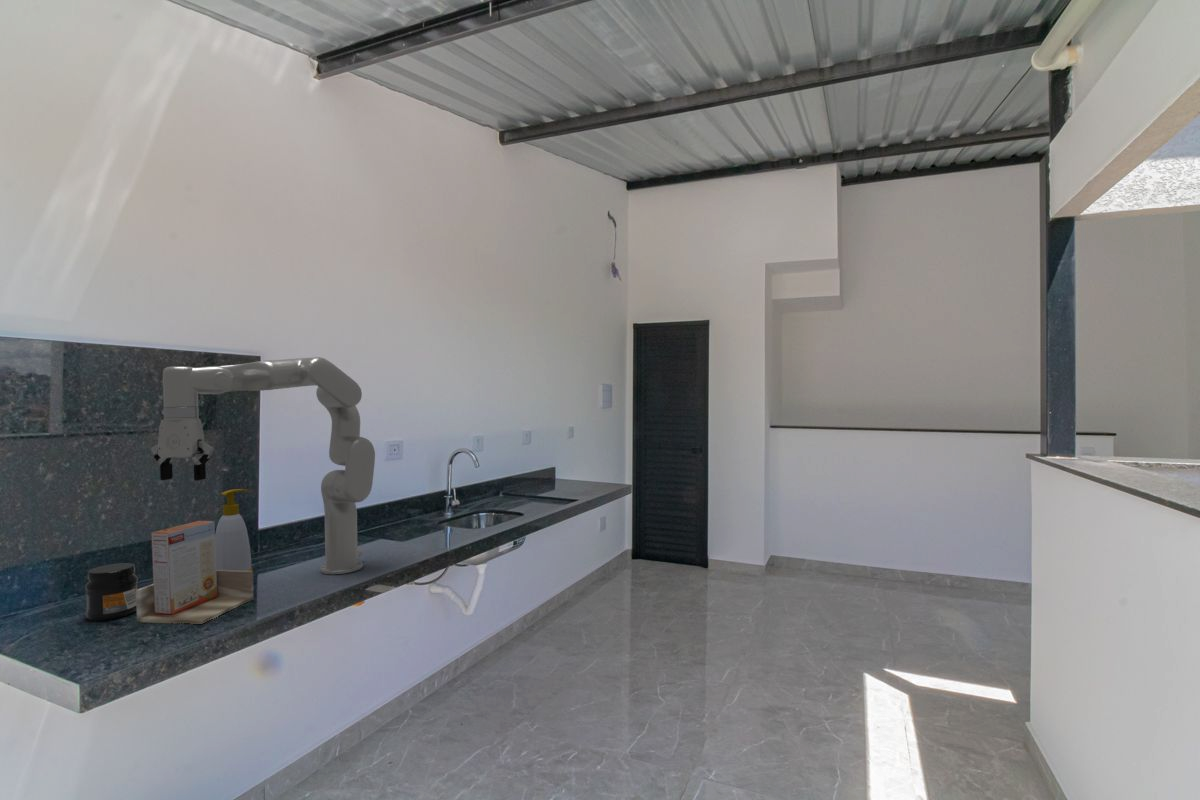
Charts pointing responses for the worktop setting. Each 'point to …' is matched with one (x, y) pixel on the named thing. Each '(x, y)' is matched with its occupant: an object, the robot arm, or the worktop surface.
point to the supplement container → (111, 592)
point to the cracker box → (184, 566)
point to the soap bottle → (232, 537)
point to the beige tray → (230, 594)
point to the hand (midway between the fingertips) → (183, 479)
